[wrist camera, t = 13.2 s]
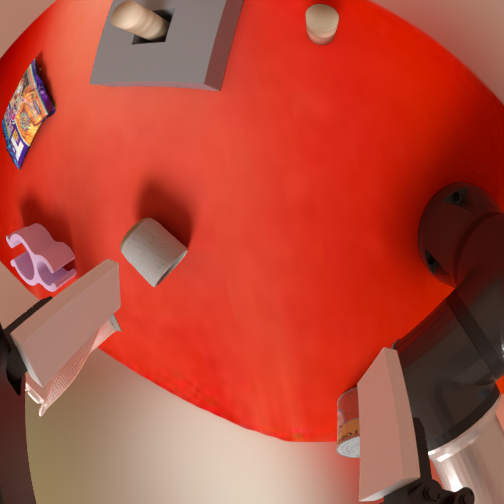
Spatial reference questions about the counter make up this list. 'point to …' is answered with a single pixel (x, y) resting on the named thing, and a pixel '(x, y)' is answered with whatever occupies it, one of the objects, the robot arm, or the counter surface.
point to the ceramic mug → (152, 250)
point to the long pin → (140, 21)
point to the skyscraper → (69, 368)
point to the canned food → (348, 424)
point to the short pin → (321, 23)
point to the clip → (41, 257)
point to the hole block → (170, 47)
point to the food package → (26, 113)
